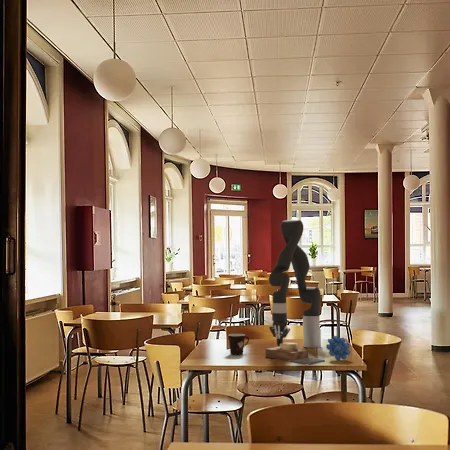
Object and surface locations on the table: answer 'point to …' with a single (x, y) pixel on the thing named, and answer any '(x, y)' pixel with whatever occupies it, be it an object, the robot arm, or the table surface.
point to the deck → (286, 354)
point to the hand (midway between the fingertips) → (279, 345)
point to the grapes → (338, 347)
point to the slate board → (307, 360)
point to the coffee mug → (237, 343)
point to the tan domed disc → (288, 346)
